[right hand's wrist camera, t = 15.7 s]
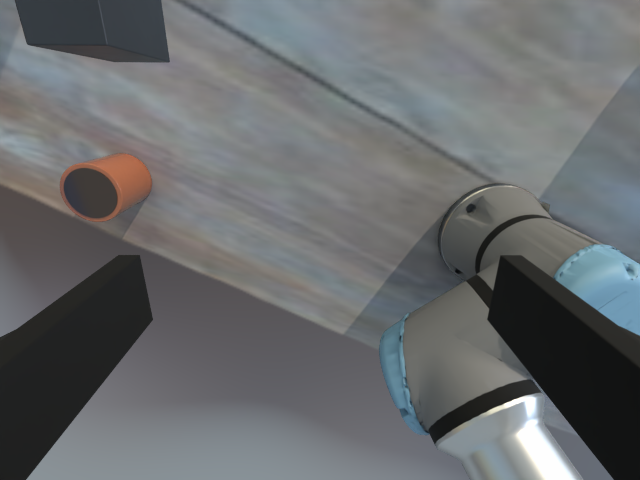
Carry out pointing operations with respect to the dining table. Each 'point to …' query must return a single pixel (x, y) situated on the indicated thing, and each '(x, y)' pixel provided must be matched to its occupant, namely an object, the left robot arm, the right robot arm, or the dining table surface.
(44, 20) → the long box
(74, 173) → the terracotta pot
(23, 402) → the right robot arm
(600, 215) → the dining table surface
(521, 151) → the dining table surface
